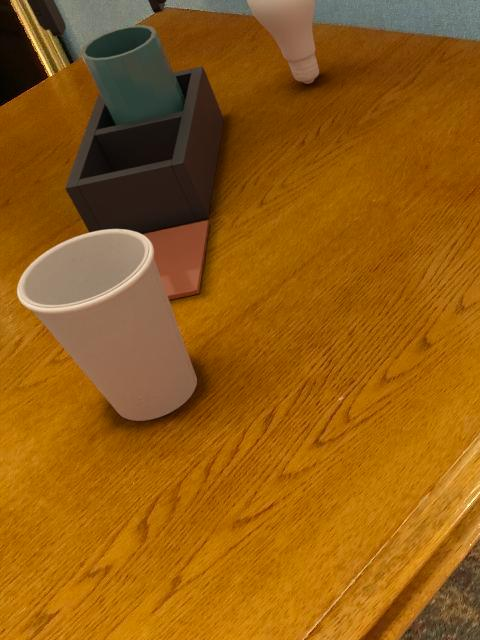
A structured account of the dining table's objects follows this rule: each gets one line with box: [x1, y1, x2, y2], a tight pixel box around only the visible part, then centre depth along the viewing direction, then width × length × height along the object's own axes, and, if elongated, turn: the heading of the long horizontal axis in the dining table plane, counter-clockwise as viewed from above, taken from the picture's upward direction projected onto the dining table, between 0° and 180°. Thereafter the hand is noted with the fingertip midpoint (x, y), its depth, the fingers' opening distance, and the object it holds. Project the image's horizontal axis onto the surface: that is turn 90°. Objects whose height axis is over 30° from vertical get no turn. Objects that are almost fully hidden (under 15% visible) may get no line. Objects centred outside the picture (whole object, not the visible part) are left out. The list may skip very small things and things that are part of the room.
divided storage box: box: [64, 65, 225, 234], centre depth 87 cm, size 10×18×5 cm, turn 8°
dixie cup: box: [16, 229, 198, 422], centre depth 64 cm, size 8×8×10 cm
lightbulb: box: [246, 0, 320, 85], centre depth 93 cm, size 6×6×11 cm
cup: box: [80, 24, 185, 126], centre depth 88 cm, size 6×6×10 cm
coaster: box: [141, 219, 211, 301], centre depth 78 cm, size 10×10×1 cm
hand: (109, 20), depth 83 cm, fingers open, 8 cm apart
